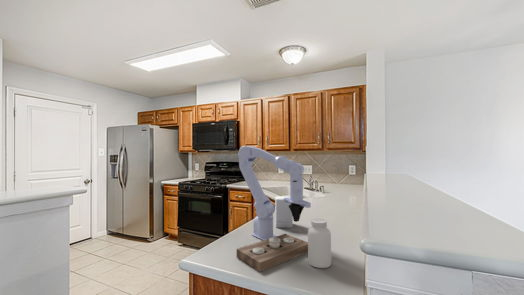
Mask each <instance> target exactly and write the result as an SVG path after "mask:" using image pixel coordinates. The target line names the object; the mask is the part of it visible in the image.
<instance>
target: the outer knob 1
mask: <svg viewBox="0 0 524 295" xmlns="http://www.w3.org/2000/svg"><path fill="white" fill-rule="evenodd" d="M253 254H255V255H257V256H258V255H261V254H264V249H263V248H254V249H253Z"/></svg>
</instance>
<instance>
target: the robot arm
mask: <svg viewBox="0 0 524 295" xmlns="http://www.w3.org/2000/svg"><path fill="white" fill-rule="evenodd" d="M237 156H238V166H239V167H238V168H239V170H240V172H241V175H242V176H243V178H244V180H245V183H246V184H247V186H248V189H249V190H250V193H251V195H252V197H253V199H254V203H253V205H254V208H255V215H256V216H255V217H254V219H253V233H252V234H251V235H252V236H253V237H255V238H258V239H259V240H261V241H263V240H267V239H269V238H273V237H276V236H277V235H276V234H274V213H275V203H273V202H272V201H271V200H270V198H269V197H268V196H267V195H265V193H264V189H263V188H262V186H261V184H260V182H259V181H258V178H257V176H256V174H255V172H254V170H253V168H252V165H253V163H254V161H256V158H261V159H263V160H266V161H268V162H271V163H273V165H274V167H275V168H277V169H280V170H281V171H283V172H285V173H287V174H289V176H290V177H289V197H290V198H284V202H287V203H291V204H290V205H289V208H290V210H291V212H292V216H293V222H299V221H300V218H301V214H302V212H303V211H304V208H306V209H308V208H311V206H312V204H311V202H308V201H306V200H304V180H303V179H304V173H305V167H304V165H303V164H302V163H300V162H296V160H295V159H294V160H291V159H289V158H287V156H285V155H278V156H276V155H274V154H272V153H270V152H268V151H266V150H264V149H262V148H259V147H256V146H247V145H242V146H241V147H240V148H239V150H238V152H237Z"/></svg>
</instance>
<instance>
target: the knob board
mask: <svg viewBox="0 0 524 295" xmlns="http://www.w3.org/2000/svg"><path fill="white" fill-rule="evenodd" d="M276 238H279V239H280V248H278V249H275V250H274V249H272V248H270V247H269V239H267V240H261V241H258V242H254V243H251V244H248V245H244V246H242V247H238V248H236V258H237V259H238V260H241V261H243V262H244V263H246V264H247V265H249V267H252V268H253V269H255V270H257V271H258V272H259V273H260V272H263V271H266V270H267V269H270V268H273V267H275V266H277V265H281V264H282V263H284V262H287V261H289V260H292V259H294V258H296V257H299V256H301V255H304V254H306V253H308V241H305V240H303V239H300V238H297V237H295V236H292V235H290V234H286V233H284V234H280V235H276ZM285 238H292V239H294V243H292V244H287V243H284V242H283V240H284V239H285ZM254 248H263V249H264V254H261V255H258V256H257V255H255V254H253V249H254Z"/></svg>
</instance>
